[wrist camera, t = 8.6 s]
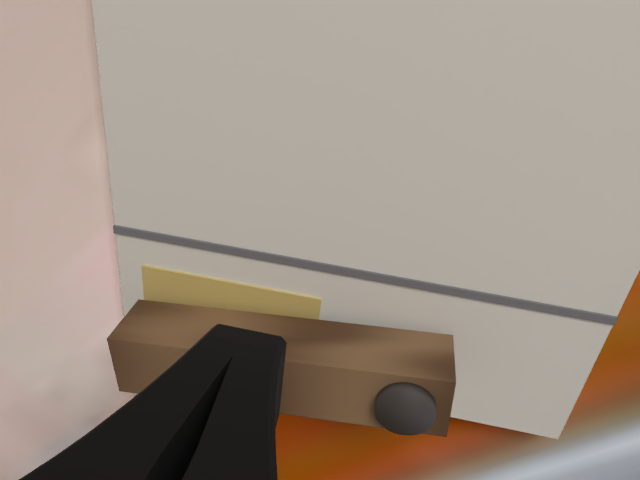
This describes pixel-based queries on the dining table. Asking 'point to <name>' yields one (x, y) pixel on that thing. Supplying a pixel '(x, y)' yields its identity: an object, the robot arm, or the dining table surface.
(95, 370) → the dining table surface
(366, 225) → the latch board
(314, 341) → the bar
